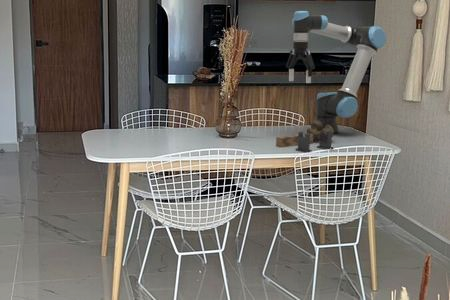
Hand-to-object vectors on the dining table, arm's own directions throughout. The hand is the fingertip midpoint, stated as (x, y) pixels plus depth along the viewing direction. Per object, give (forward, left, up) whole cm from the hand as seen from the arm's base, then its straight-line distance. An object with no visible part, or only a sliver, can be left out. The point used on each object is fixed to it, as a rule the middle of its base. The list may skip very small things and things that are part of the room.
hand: (299, 82), depth 315 cm
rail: (+13, +13, -31) cm, 36 cm away
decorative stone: (-6, +11, -31) cm, 34 cm away
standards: (+13, +28, -31) cm, 43 cm away
